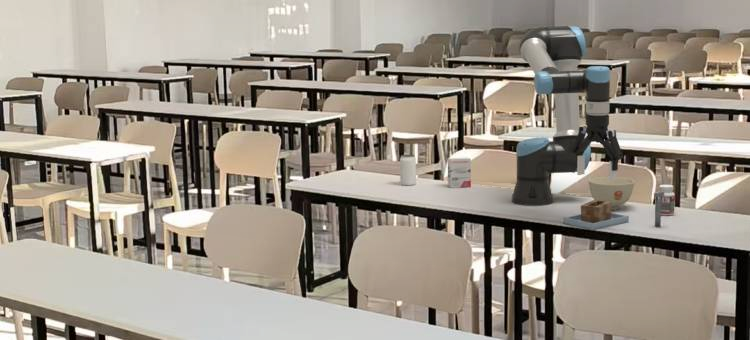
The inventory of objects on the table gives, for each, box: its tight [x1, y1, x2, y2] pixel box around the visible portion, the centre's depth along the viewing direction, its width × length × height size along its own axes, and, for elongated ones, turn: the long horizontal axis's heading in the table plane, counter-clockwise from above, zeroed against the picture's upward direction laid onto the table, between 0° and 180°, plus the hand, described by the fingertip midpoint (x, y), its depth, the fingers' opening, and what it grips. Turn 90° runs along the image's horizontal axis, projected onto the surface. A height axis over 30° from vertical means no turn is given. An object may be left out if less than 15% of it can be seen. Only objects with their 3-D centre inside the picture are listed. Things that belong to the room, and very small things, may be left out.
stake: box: [653, 191, 664, 228], centre depth 331 cm, size 2×4×11 cm, turn 126°
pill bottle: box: [658, 184, 676, 217], centre depth 348 cm, size 6×6×10 cm
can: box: [399, 154, 417, 187], centre depth 414 cm, size 6×6×12 cm
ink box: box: [447, 156, 472, 189], centre depth 407 cm, size 8×5×12 cm, turn 99°
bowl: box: [588, 176, 636, 211], centre depth 360 cm, size 16×16×10 cm
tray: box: [562, 212, 630, 231], centre depth 339 cm, size 13×18×2 cm
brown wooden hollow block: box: [580, 199, 613, 223], centre depth 338 cm, size 12×6×6 cm, turn 145°
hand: (596, 177), depth 336 cm, fingers open, 13 cm apart
